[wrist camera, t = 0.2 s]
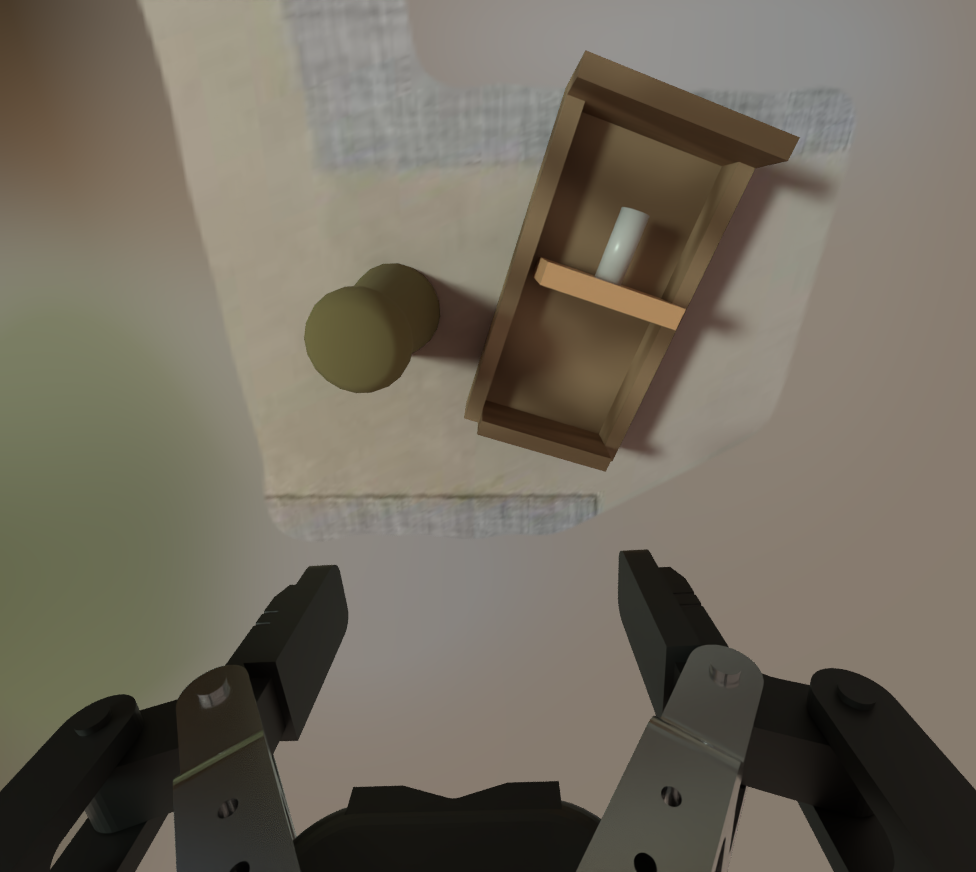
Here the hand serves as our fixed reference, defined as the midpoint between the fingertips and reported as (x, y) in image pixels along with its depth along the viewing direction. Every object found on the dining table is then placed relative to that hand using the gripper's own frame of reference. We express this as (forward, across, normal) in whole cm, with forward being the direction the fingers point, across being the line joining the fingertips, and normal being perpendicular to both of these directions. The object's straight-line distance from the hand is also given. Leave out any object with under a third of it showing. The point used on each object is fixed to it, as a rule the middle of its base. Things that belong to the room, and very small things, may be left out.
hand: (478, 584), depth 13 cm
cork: (+21, +6, -7) cm, 23 cm away
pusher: (+20, -8, -9) cm, 23 cm away
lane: (+21, -7, -7) cm, 23 cm away
